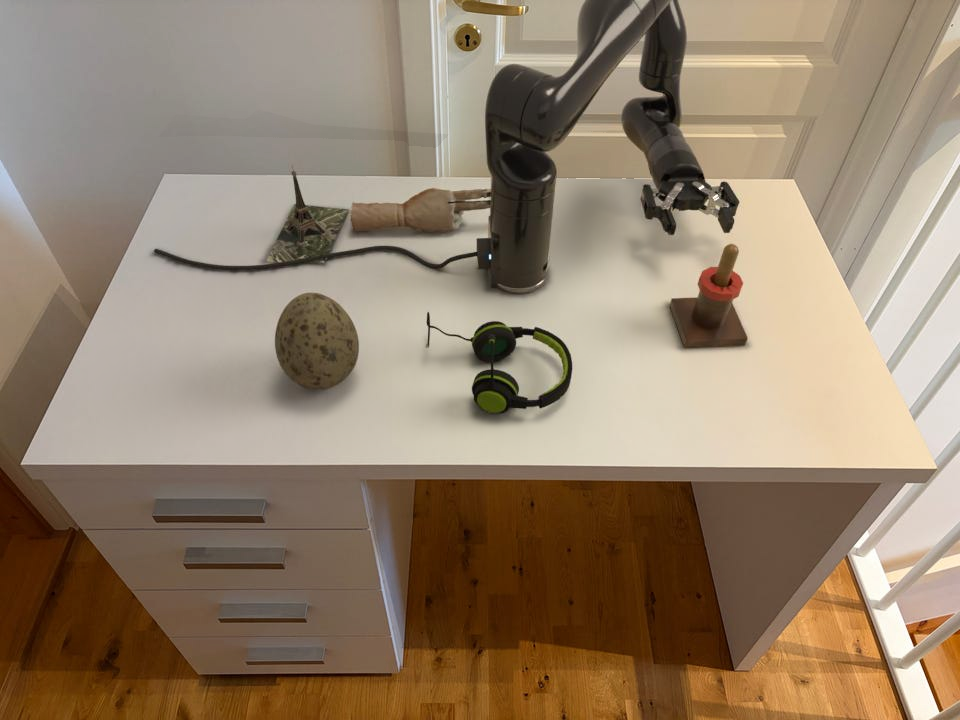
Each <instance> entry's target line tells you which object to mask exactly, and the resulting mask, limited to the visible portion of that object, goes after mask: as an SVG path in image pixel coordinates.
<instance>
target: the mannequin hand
mask: <svg viewBox="0 0 960 720" xmlns="http://www.w3.org/2000/svg"><path fill="white" fill-rule="evenodd" d="M482 198H484V199H487V198H491V188H484V189H482V188H476V189H475V188H474V189H469V190H468V189H462V190H450V189H441V188H437V187H431V188H426V189H424V190H421V191H420V192H418V193H416V194H414V195H413V196H412V197H410V198H408V200H406V201H404V202H403V203H398V202H382V203H380V202H370V203H365V202H354V201H353V202H352V203H351V207H350V208H351V209H350V212H349V214H350V224H351V227H352V231H353V233H355V232H364V231H365V232H366V231H376V230H386V229H387V230H388V229H396V228H398V229H399V228H409V229H411V230H415V231H416V230H418V231H421V232H429V233H441V232H453V231H456V230H457V229H458V228H460V226H461V224H462V223H463V217H462V216H463V215H464V213H465V212H469V211H480V210H486V209H490V201H491V199H488V200H480V199H482ZM472 200H473V201H472Z"/></svg>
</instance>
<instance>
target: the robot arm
mask: <svg viewBox="0 0 960 720" xmlns="http://www.w3.org/2000/svg"><path fill="white" fill-rule="evenodd" d="M576 29H577V30H576V41H577V42H576V43H577V44H576V45H577V52H576V53H577V54H576V59H575V60H574V62H573V63H572V65H571V66H570V67H569V68H568V69H567V70H566V71H565V72H564V73H563V74H561V75H559V76H554V75H552V74H549V73H546V72H543V71H540V70H537V69H535V68H532V67H529V66H526V65H523V64H518V63H509V64H507V65H505V66H503V67H502V68H500V69H499V70H498V72H496V74H495V75H494V77H493V79H492V80H491V82H490V85H489V88H488V91H487V95H486V101H485V107H484V108H485V109H484V110H485V111H484V127H485V129H484V132H485V152H486V153H485V154H486V166H487V170H488V172H489V174H490V189H491V197H490V200H491V201H490V208H489V212H490V213H489V215H488V223H487V225H488V227H487V237H478V238H476V247H475V248H476V249H475V250H476V251H473V252H466V253H463V254H457V255H454V256H451V257H449V258H446V259H445V260H444V261H443V262H442V263H431V262H428V261H427V260H424V259H422V258H421V257H419V256H418V255H417V254H415V253H413V252H411V251H410V250H408V249H405V248H403V247H400V246H394V245H373V246H366V247H362V248H356V249H349V250H343V251H338V252H330V253H329V254H325V255H320V256H316V257H310V258H305V259H299V260H293V261H286V262H271V263H266V264H265V263H264V264H256V265H222V264H215V263H214V264H212V263H205V262H200V261H195V260H190V259H187V258H184V257H180V256H178V255H175V254H172V253H170V252H167V251H164V250H162V249H158V248H155V249H154V251H153V252H154V253H155V254H157V255H160V256H163V257H166V258H168V259H171V260H173V261H176V262H180V263H182V264H186V265H190V266H193V267H200V268H203V269H204V268H205V269H212V270H222V271H259V270H268V269H274V268H283V267H289V266H295V265H301V264H307V263H311V262H310V261H314V260H318V259H322V258H326V257H328V258H327V260H328V259H333V258H339V257H345V256H351V255H356V254H362V253H368V252H375V251H392V252H393V251H394V252H398V253H402V254H404V255H406V256H408V257H410V258H412V259H413V260H414V261H416V262H418V263H419V264H421V265H423V266H425V267H427V268H429V269H436V270H439V269H443V268H445V267H446V266H448V265H449V264H450V263H452V262H456V261H460V260H464V259H470V258H476V262H477V270H487V275H488V280H489V287H490V289H499V290H501V291H504V292H506V293H510V294H527V293H532V292H534V291H536V290H539V289H540V288H541V287H542V286H543V285H545V283H546V282H547V279H548V271H549V270H548V268H549V263H550V259H551V258H550V257H551V256H550V246H551V245H550V244H551V237H552V225H553V214H554V204H555V195H556V194H555V193H556V184H557V175H558V173H557V172H558V171H557V165H556V163H555V161H554V159H553V158H552V157H551V156H550V155H549V154H548V153H547V152H551V151H553V150H555V149H556V148H557V147H559V146H560V145H561V144H562V143H563V142H564V141H565V139H567V137H568V136H569V135H570V134H571V132H572V130H573V129H574V127H576V125H577V123H579V121H580V120H581V118H582V116H583V114H584V113H585V112H586V110H587V109H588V107H589V105H590V104H591V103H592V101H593V100H594V98H595V97H596V95H597V94H598V92H599V91H600V89H601V88H602V86H603V85H604V84H605V82H606V81H607V80H608V79H609V78H610V76H611V75H612V74H613V72H615V70H616V68H617V67H618V66H619V65H620V63H621V62H622V61H623V60H624V59H625V58H626V56H627V55H628V54H629V53H630V52H631V51H632V50H633V48H635V46H636V45H637V44H638V43H639V42H640V41H641V39H642V38H643V37H644V39H643V45H642V51H641V57H640V65H639V68H638V69H639V70H638V82H639V84H640V86H641V87H642V88H644V89H646V90H648V91H650V92H654V93H659V94H662V95H661V96H660V95H659V96H641V97H640V96H639V97H633V98H631V99H629V100H628V101H627V102H626V103H625V104H624V106H623V108H622V110H621V114H620V115H621V116H620V122H621V127H622V130H623V132H624V134H625V136H626V137H627V139H628V140H629V141H630V142H631V143H632V144H634V146H636V147H637V148H638V149H639V150H640V152H642V153H643V154H644V158H645V159H646V162H647V166H648V171H649V175H650V176H651V178H652V181H653V184H654V187H655V188H652V186H651V184H648V183H645V184H643V185H642V189H641V195H640V202H641V206H642V210H643V213H644V218H645V219H646V220H653V219H654V218H655V219H657V221H658V222H660V225H661V228H662V231H664V232H665V233H667V234H668V236H674V235H675V233H676V229H677V222H676V219H675V218H674V217H675V216H674V215H673V214H674V212H675V211H676V210H678V211H679V212H682V211H683V212H685V211H699V212H702V213H703V214H704V215H707V216H709V215H712V216H713V217H715V218H717V221H718V224H719V225H720V227H721V230H722V232H723V233H724V234H730V233H731V230H733V228H734V225H735V218H734V217H735V216H736V214H737V210H738V207H739V205H740V200H739V198H738V196H737V194H736V193H735V192H734V190H733V189H732V186H731V185H730V183H729V182H727V181H721V182H720V184H719V185H717V186H711V185H710V184H709V183H708V182H706V181H707V180H706V178H705V174H704V171H703V169H702V167H701V164H700V163H699V161H698V159H697V157H696V155H695V153H694V150H693V149H692V147H691V146H690V145H689V144H688V142H687V140H686V139H685V137H684V136H685V135H684V134H683V131H682V130H681V128H680V127H681V125H682V121H683V112H682V111H683V110H682V102H681V76H682V75H681V74H682V69H683V65H684V60H685V55H686V52H687V51H686V49H687V43H688V42H687V41H688V35H687V34H688V33H687V26H686V21H685V18H684V14H683V12H682V8H681V5H680V2H679V0H584V1H583V3H582V5H581V7H580V10H579V13H578V18H577V27H576ZM656 198H658V200H660V201H661V202H662V203H661V205H657V203H656ZM707 201H708V202H707ZM706 203H707V205H706ZM716 206H717V207H719V209H718V208H717V207H716Z"/></svg>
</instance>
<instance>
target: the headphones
mask: <svg viewBox="0 0 960 720" xmlns="http://www.w3.org/2000/svg"><path fill="white" fill-rule="evenodd" d="M426 326H427V344H425V346H424V347H425V348H426V349H427V348H430V339H431V329H435V330H438V331H439V332H440V333H442V334H443V335H446V336H448V337H457V338H460V339H462V340H464V341H467V342H470V343H471V347H472V351H473V353H474V356H475V357H476V359H478V360H479V361H481V362H484V363H490V368H489V369H484V370H481V371H479V372H478V373H477V374H476V375H475V377H474V380H473V383H472V386H471V393H472V396H473V401H474V403H475V404H476V406H477V407H478V408H479V409H480V410H481V411H484V412H486V413H487V414H492V415H501V414H504V413H507V412H508V411H509V410H510V409H517V410H518V409H519V410H520V409H521V410H527V408H537V407H538V408H539V409H543V408H546V407H548V406H550V405H552V404H554V403H556V402H558V401H559V400H560V399H561V398H562V397H563V396H565V394H566V393H567V391H568V390H569V388H570V385H571V380H572V374H573V360H572V355H571V353H570V350H569V348H568V346H567V345H566V343H565V342H564V341H563V340H562V339H561V338H560V337H558V336H557V335H555V334H554V333H552V332H550V331H549V330H546V329H543V328H541V327H538V326H534V328H527V327H523V326H508V325H506V323H504V322H502V321H498V320H491V321H487V322H485V323H483V324H481V325H480V326H479V327H478V328H477V329H476V330H475V332H474V334H473V336H472V337H470V338H467V337H464V336H462V335H460V334H452V333H446V332H445V331H443V330H442V329H440V328H438V326H435V325H431V316H430V312H429V311H427V313H426ZM524 336H530V337H531V336H532V340H536V341H538V342H540V343H542V344H544V345H546V346H547V347H548V348H550V349H552V351H554V352H555V353H556V354H557V355H558V357H559V358H560V360H561V364H562V372H563V373H562V377H561V378H560V380H559V382H558V383H556V384H555V385H554V386H553V387H551V388H550V389H549V390H547V391H546V392H544V393H542V394H540V395H538V398H537V399H529V397H527V396H521V395H519V393H520V386H519V383H518V381H517V380H516V378H515V377H513V375H512V374H510V373H508V372H507V371H504V370H500V369H494V366H495V365H494V363H496V362H500V361H503V360H505V359H506V358H508V357H510V356H511V355H512V354H513V353H514V351H515V349H516V347H517V339H520V338H523V337H524Z"/></svg>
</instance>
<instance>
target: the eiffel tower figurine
mask: <svg viewBox="0 0 960 720" xmlns="http://www.w3.org/2000/svg"><path fill="white" fill-rule="evenodd" d="M291 168H292V171H291V176H292V180H293V186H294V188H293V189H294V195H295V203H294V204H293V206H292V208H291V210H290V213H289V214H288V216H287V218H286V220H285V222H284V224H283V226H282V227H281V230H280V232H279V234H278V235H277V238H276V239H275V242H274V244H273V246H272V248H271V250H270V251H269V252H270V253H269V254H268V256H267V258H266V260H265V262H266V263H279V262H286V261H293V260H299V259H305V258H310V257H316V256H320V255H325V254H331V252H332V249H333V247H334V245H335V242H336V239H337V237H338V234H339V232H340V231H341V228H342V225H343V223H344V222H345V219H346V217H347V215H348V213H349V211H350V209H349V208H340V207H329V206H317V205H310V204H306V203H305V201H304V198H303V195H302V192H301V189H300V188H301V187H300V184H299V181H298V178H297V175H298V174H297V172H296V171H295V170H294V165H293V164H292V165H291ZM327 258H328V257H326V258H322V259H318V260H314V261H310V262H309V263H320V264H321V263H322V264H326V263H327V260H328V259H329V258H328V259H327Z"/></svg>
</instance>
